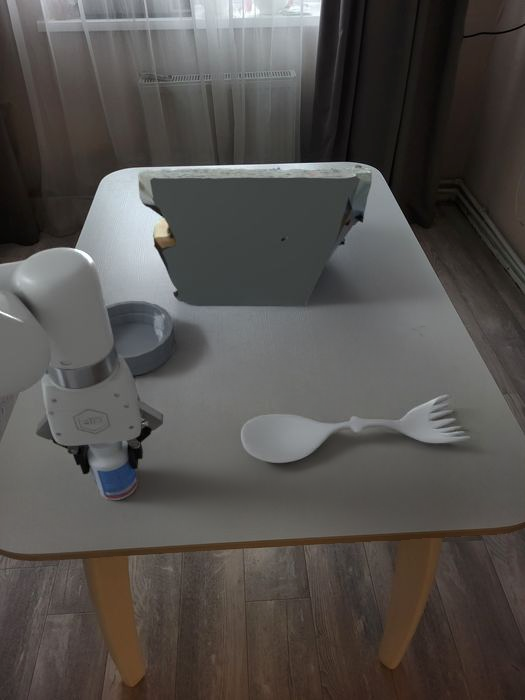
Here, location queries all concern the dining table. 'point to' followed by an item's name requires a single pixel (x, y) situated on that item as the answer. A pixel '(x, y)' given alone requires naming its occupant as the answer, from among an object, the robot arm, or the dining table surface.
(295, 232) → the basket
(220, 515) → the dining table surface
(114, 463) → the pill bottle
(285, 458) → the spoon
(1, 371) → the robot arm
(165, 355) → the pan
